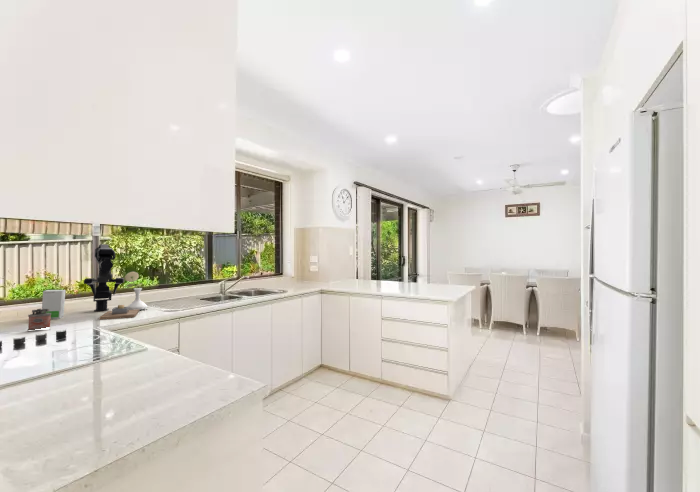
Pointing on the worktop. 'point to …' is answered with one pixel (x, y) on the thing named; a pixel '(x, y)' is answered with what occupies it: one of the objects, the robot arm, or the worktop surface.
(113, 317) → the keeper board
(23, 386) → the worktop surface
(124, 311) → the steel link
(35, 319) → the lighter
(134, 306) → the flower in vase
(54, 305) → the skincare box
